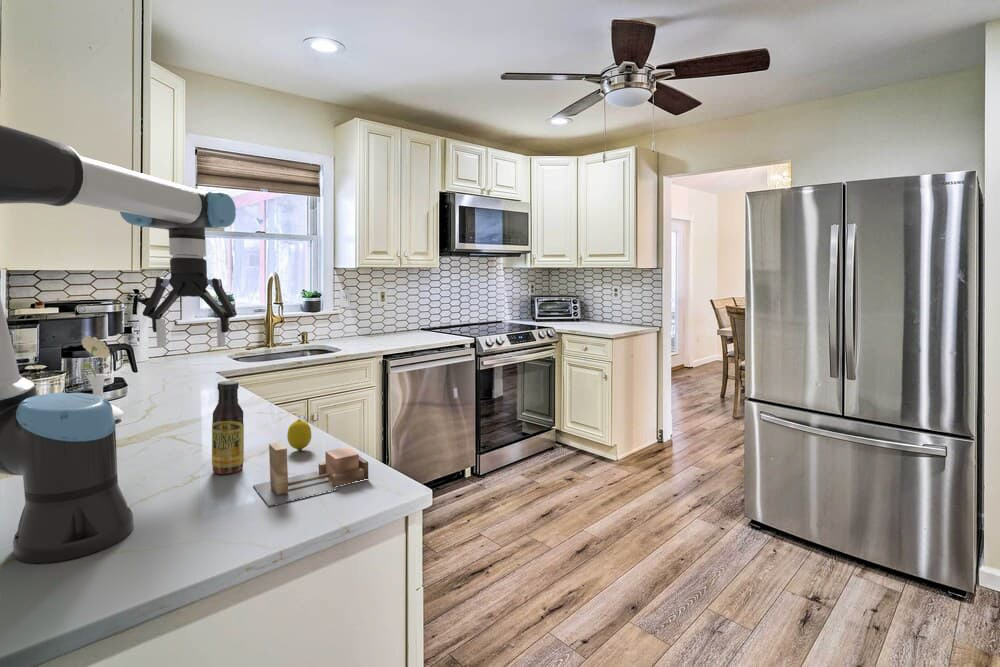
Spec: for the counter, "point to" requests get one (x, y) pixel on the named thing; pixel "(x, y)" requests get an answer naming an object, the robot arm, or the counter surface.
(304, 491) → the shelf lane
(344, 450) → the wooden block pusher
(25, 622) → the counter surface
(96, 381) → the flower in vase
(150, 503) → the counter surface
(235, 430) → the sauce bottle
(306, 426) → the lemon
